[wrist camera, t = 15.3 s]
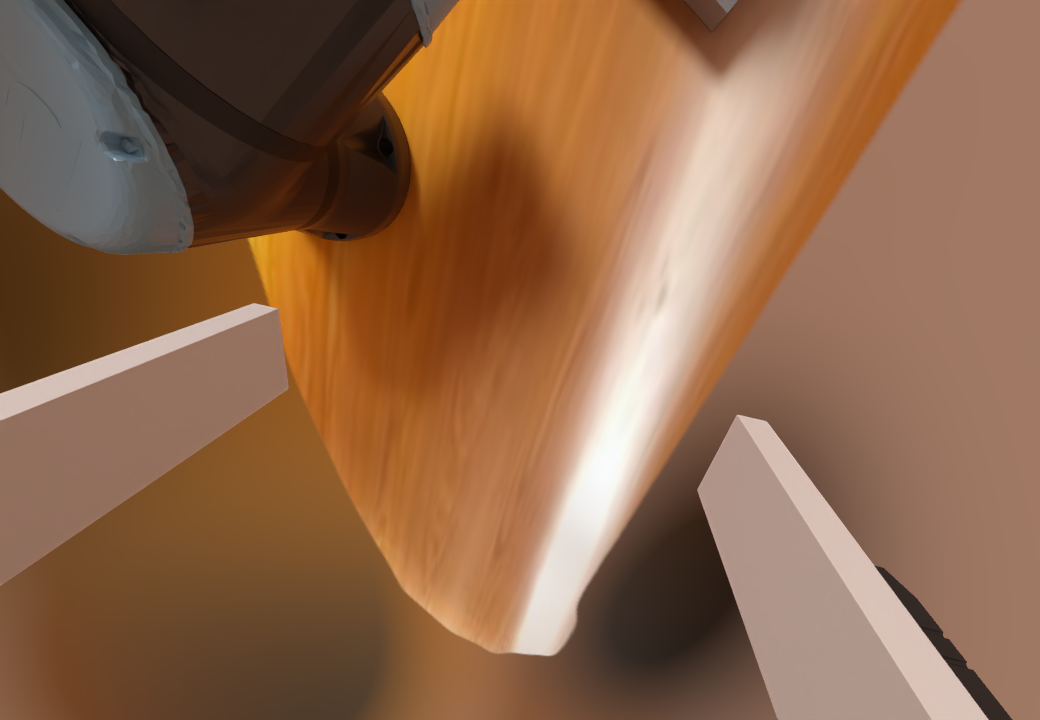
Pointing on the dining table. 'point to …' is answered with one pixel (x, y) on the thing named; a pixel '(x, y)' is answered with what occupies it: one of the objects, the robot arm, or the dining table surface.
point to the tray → (711, 10)
